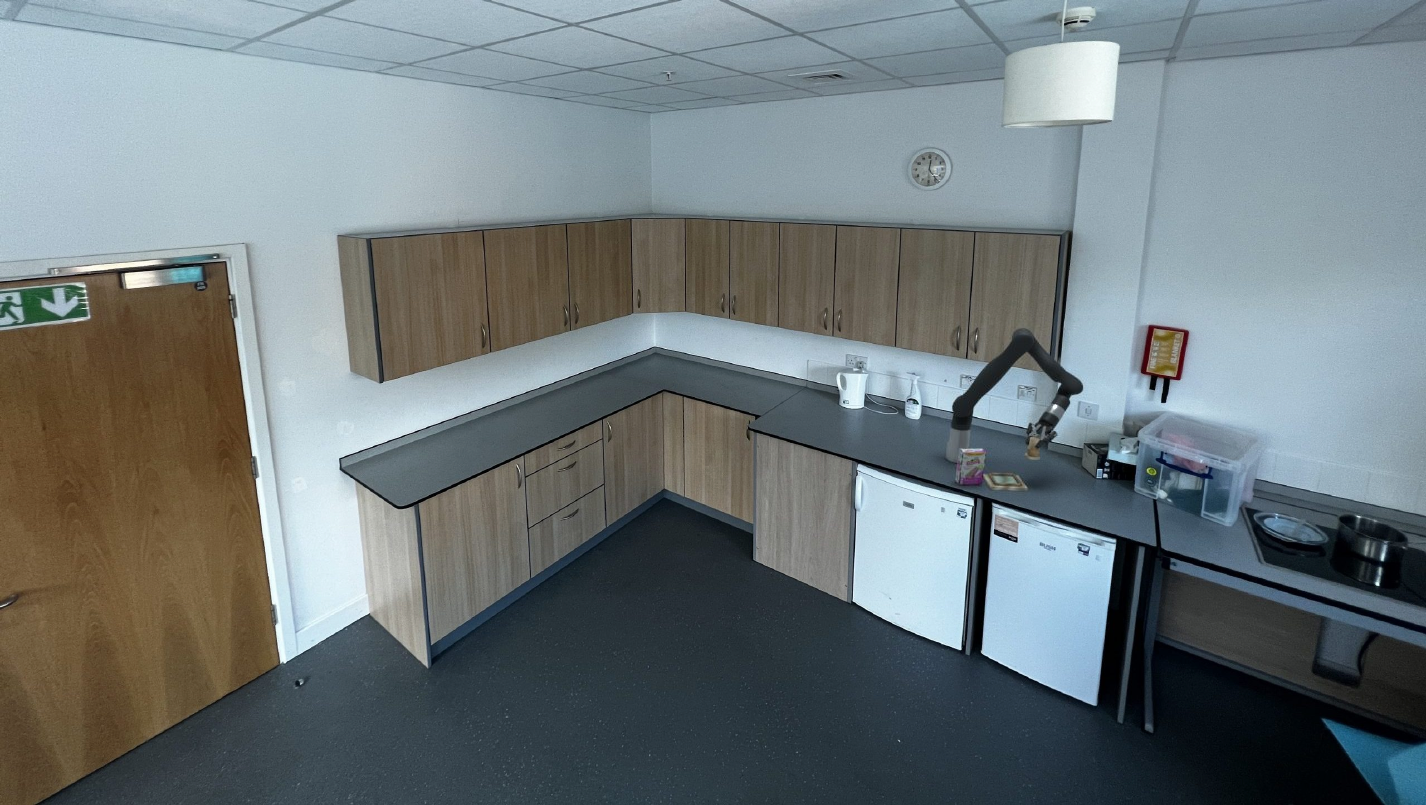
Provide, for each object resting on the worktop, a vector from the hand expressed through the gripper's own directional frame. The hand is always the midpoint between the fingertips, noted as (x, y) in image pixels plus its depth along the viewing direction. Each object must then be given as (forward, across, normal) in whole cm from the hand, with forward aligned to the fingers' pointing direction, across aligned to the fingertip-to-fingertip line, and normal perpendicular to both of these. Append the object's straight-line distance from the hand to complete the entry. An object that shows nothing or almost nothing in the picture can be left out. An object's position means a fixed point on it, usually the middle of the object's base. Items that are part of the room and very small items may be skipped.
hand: (1031, 445), depth 320 cm
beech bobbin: (+3, 0, +6) cm, 6 cm away
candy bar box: (+28, -16, 0) cm, 32 cm away
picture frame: (+19, -6, +9) cm, 22 cm away
